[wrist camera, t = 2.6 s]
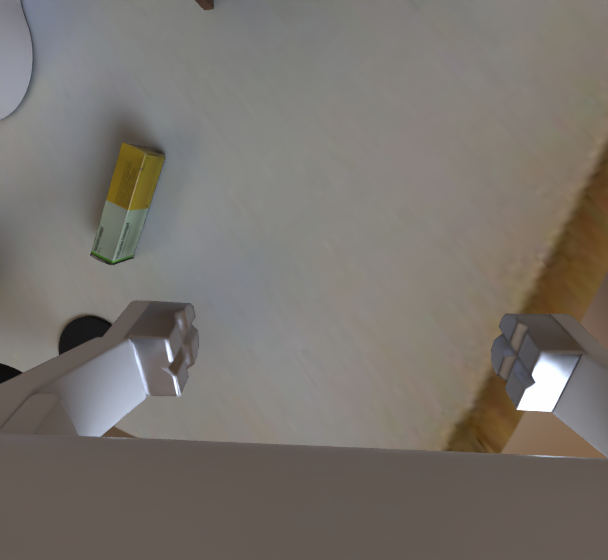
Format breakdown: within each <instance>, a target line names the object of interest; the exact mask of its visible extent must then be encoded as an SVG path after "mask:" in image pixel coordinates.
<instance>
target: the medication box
mask: <svg viewBox="0 0 608 560" xmlns="http://www.w3.org/2000/svg"><path fill="white" fill-rule="evenodd" d="M164 160H165V154H164V155H163V154H161V153H160V152H158V151H156V150H153V149H151V148H148V147H145V146H139V145H134V144H128V143H123V142H122V145H121V148H120V152H119V155H118V159H117V162H116V166H115V170H114V173H113V177H112V180H111V184H110V187H109V191H108V194H107V198H106V202H105V205H104V209H103V212H102V216H101V220H100V223H99V227H98V230H97V234H96V237H95V241H94V244H93V248H92V251H91V254H90V256H92V257H94V258H95V259H97V260H99V261H101V262H104V263H106V264H109V265H115V264H117V263H120V262H123V261H126V260H129V259H132V258H133V256H134V253H135V250H136V246H137V243H138V240H139V237H140V234H141V231H142V228H143V225H144V222H145V219H146V216H147V212H148V209H149V206H150V203H151V200H152V197H153V194H154V191H155V188H156V185H157V181H158V178H159V175H160V172H161V169H162V166H163V163H164Z"/></svg>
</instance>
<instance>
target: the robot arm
mask: <svg viewBox="0 0 608 560" xmlns="http://www.w3.org/2000/svg"><path fill="white" fill-rule="evenodd" d="M32 63H33V52H32V42H31V36H30V32H29V28H28V25H27V22H26V19H25V16H24V13H23V10H22V6H21V0H0V120H1V119H3V118H5V117H7V116H8V115H9V114H11V113H12V112H13V111H14V110H15V109H16V108H17V107H18V105H19V104H20V102H21V101H22V99H23V97H24V95H25V93H26V91H27V88H28V85H29V82H30V78H31V72H32ZM194 318H195V312H194V307H193V305H192V304H191V303H181V302H162V301H132V302H131V303H130V304H129V305H128V306H127V308H126V309H125V310H124V311H123V312H122V314H121V315H120V316H119V317H118V319H117V320H116V321H115V322H114V323H113V325H112V326H111V327H110V328H109V330H108V331H107V332H106V333H105V335H104V336H103V337H96V338H94V339H92V340H89V341H87V342H85V343H83V344H81V345H79V346H77V347H75V348H73V349H71V350H69V351H67V352H65V353H63V354H61V355H59V356H57V357H55V358H53V359H50V360H48V361H46V362H44V363H42V364H40V365H38V366H36V367H34V368H32V369H30V370H28V371H26V372H24V373H22V374H20V375H18V376H16V377H14V378H11V379H9V380H7V381H5V382H3V383H1V384H0V560H608V351H607V349H606V348H604V347H603V346H602V345H601V344H600V343H599V342H598V341H597V340H596V339H595V338H594V337H593V336H592V335H591V334H590V333H589V332H588V331H587V330H586V329H585V328H584V327H583V326H582V325H581V324H580V323H579V322H578V321H577V320H576V319H575V318H574V317H573V316H570V315H568V314H505V315H504V316H503V318H502V319H501V322H500V325H499V328H500V330H501V332H502V334H501V335H500V336H499V337H497V338H496V339H495V340H494V342H493V346H492V349H491V361H492V365H493V368H494V370H495V372H496V374H497V376H499V377H500V378H502V379H503V380H505V381H506V382H507V385H506V387H505V390H506V391H507V393H508V395H509V397H510V398H511V400H512V402H513V403H514V405H515V407H516V409H517V410H532V411H549V412H553V414H554V415H555V416H557V417H558V418H559V419H560V420H561V421H563V422H564V423H565V424H566V425H568V426H569V427H570V428H571V429H573V430H574V431H575V432H576V433H577V434H579V435H580V436H581V437H582V438H584V439H585V440H586V441H587V442H589V443H590V444H591V445H592V446H594V447H595V448H596V449H597V450H598V451H600V452H601V453H602V454H603V455H605V456H606V457H607V458H586V457H561V456H560V457H559V456H539V455H538V456H537V455H515V454H494V453H472V452H450V451H427V450H403V449H379V448H356V447H332V446H308V445H284V444H260V443H237V442H213V441H190V440H166V439H143V438H119V437H100V436H101V435H103V434H104V433H105V432H106V431H107V430H109V429H110V428H111V427H112V426H113V425H115V424H116V423H117V422H118V421H119V420H120V419H122V418H123V417H124V416H125V415H126V414H128V413H129V412H130V411H131V410H132V409H134V408H135V407H136V406H137V405H138V404H140V403H141V402H142V401H143V400H144V399H145V398H146V396H180V395H181V393H182V391H183V389H184V386H185V384H186V382H187V379H188V377H189V376H188V371H187V369H188V368H189V367H191V366H192V365H194V363H195V360H196V358H197V354H198V348H199V335H198V330H197V329H196V328H195V327H194V326H193V325H192V323H193V320H194Z"/></svg>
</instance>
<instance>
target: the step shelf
mask: <svg viewBox="0 0 608 560" xmlns="http://www.w3.org/2000/svg"><path fill="white" fill-rule="evenodd" d="M195 1H196V2H197V3H198V4H199V5H200V6H201V7H202V8H203V9H204V10H210V9H214V1H213V0H195Z"/></svg>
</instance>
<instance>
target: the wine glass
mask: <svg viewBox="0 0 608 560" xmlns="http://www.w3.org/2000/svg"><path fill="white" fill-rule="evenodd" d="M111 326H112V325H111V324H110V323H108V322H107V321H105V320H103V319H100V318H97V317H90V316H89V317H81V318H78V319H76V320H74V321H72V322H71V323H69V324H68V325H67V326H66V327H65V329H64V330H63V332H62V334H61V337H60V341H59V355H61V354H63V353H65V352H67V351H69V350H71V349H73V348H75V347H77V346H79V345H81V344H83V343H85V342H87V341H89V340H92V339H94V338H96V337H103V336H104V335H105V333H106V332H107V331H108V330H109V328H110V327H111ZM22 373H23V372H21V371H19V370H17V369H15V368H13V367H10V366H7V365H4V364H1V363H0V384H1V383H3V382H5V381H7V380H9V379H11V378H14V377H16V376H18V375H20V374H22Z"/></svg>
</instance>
